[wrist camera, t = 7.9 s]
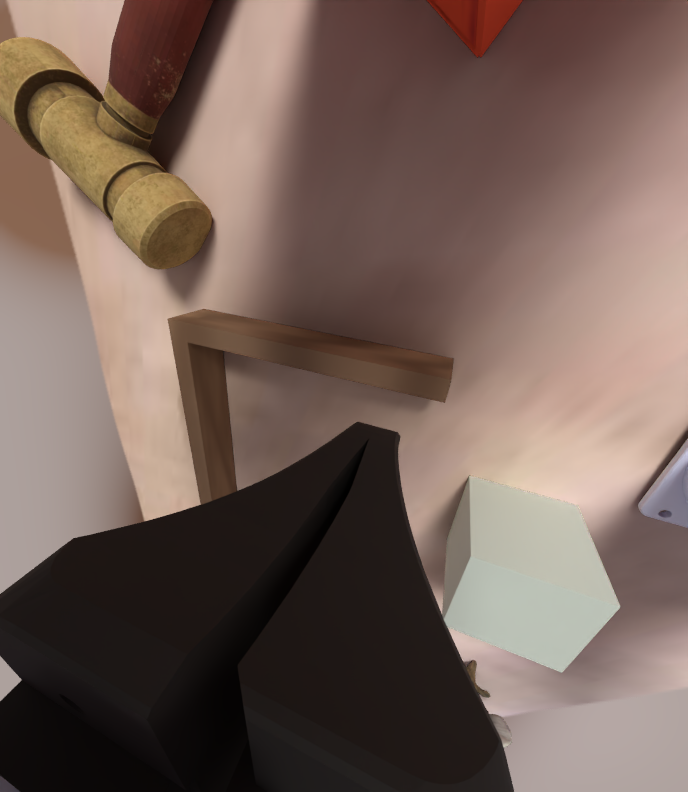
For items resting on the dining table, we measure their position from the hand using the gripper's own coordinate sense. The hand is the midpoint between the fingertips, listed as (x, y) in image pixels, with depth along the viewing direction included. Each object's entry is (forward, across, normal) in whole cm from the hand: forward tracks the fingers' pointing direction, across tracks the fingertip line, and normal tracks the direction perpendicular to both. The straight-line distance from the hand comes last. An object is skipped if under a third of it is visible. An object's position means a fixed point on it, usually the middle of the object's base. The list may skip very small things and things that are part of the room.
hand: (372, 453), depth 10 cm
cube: (+10, -8, +10) cm, 16 cm away
